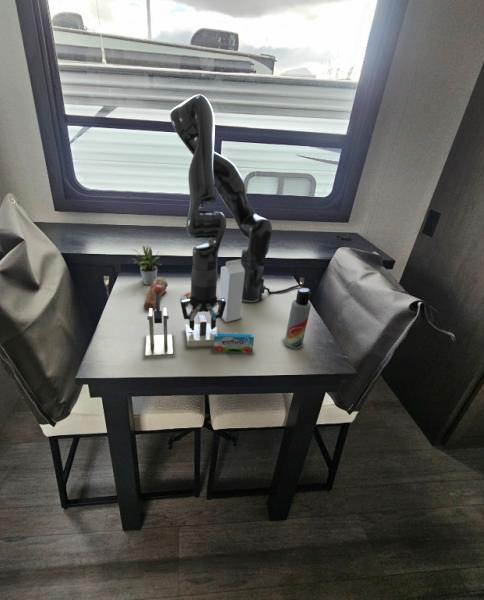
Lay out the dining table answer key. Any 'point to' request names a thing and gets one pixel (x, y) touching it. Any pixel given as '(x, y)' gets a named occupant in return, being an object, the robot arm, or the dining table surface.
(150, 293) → the bread
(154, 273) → the house plant
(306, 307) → the lotion bottle
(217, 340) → the blue flat cardboard box
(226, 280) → the milk
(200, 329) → the black red-tipped box
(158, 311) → the red ball lever
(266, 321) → the dining table surface
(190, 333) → the panel
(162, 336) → the lever bracket
